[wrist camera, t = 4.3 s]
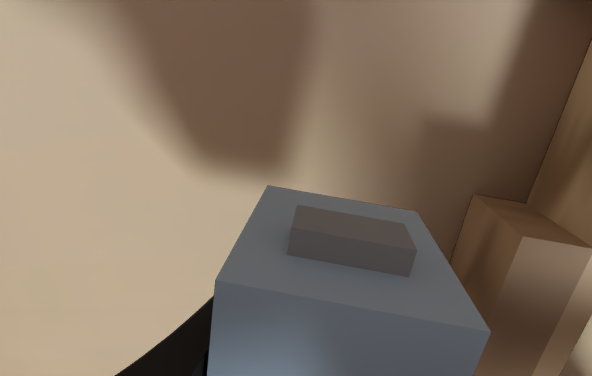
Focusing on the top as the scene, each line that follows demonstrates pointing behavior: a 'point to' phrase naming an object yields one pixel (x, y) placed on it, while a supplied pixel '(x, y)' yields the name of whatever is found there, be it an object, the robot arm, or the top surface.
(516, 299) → the beige wooden bar
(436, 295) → the cabinet block
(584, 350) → the top surface
